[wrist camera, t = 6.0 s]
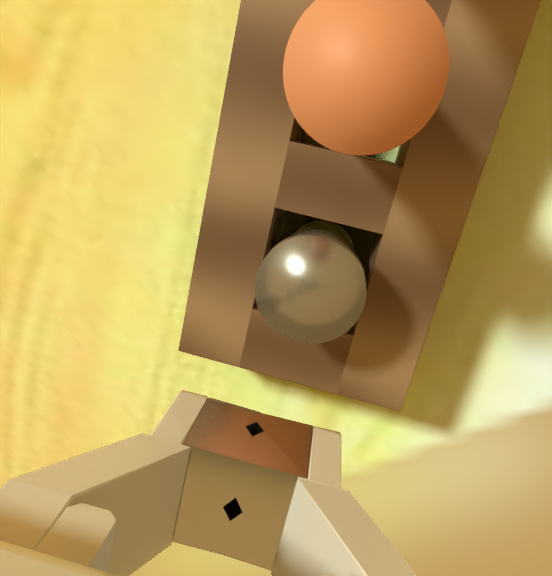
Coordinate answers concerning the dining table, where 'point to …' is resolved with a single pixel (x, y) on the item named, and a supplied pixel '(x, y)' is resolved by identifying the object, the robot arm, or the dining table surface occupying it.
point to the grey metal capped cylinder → (312, 284)
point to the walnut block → (345, 202)
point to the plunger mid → (365, 72)
